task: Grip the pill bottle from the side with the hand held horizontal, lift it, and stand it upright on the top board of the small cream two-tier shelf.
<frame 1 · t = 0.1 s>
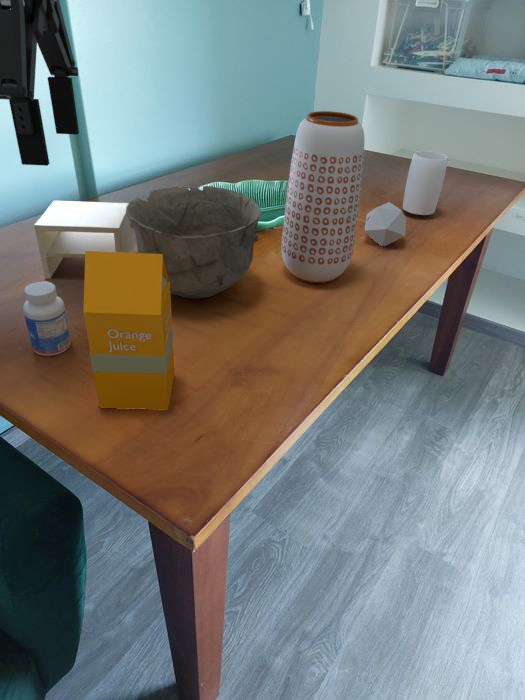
hand: (53, 147, 64), 28 cm above the table, tool pointing down, fingers open, 13 cm apart
die: (382, 242, 117), on the table
cup: (417, 214, 132), on the table
pill bottle: (52, 347, 78), on the table
orange juice: (138, 392, 71), on the table
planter: (313, 274, 102), on the table
bowl: (196, 288, 95), on the table
shelf: (92, 264, 100), on the table
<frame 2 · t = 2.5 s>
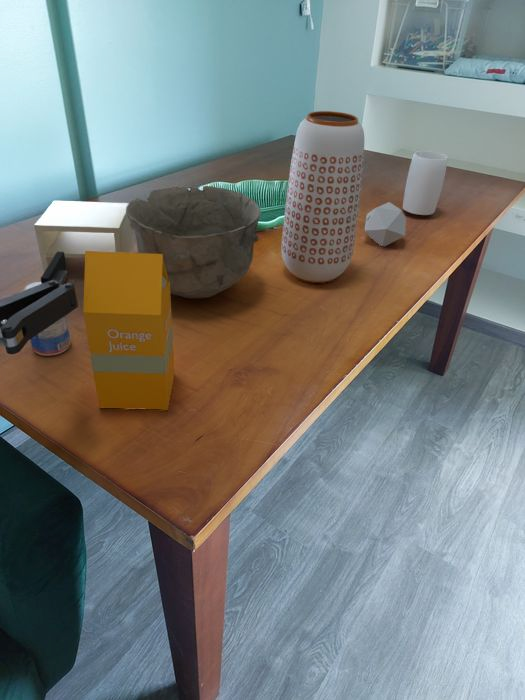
hand: (1, 261, 60), 18 cm above the table, tool horizontal, fingers open, 13 cm apart
nothing on the table moved.
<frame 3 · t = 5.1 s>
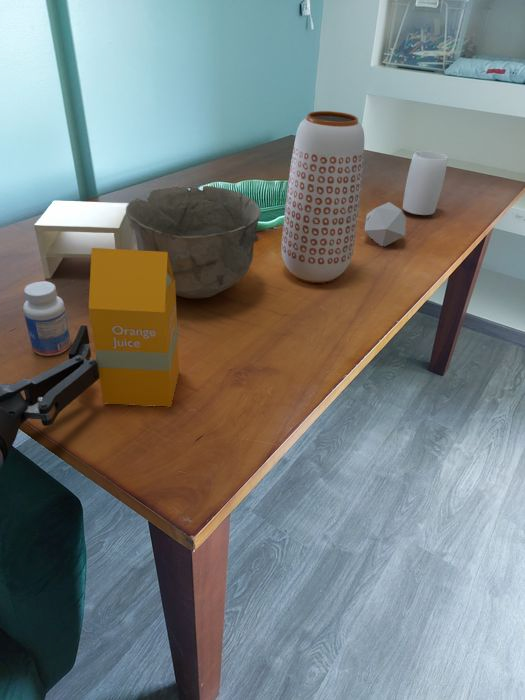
hand: (33, 332, 70), 6 cm above the table, tool horizontal, fingers open, 13 cm apart
orange juice: (143, 389, 72), on the table, touching gripper
everything else where it was.
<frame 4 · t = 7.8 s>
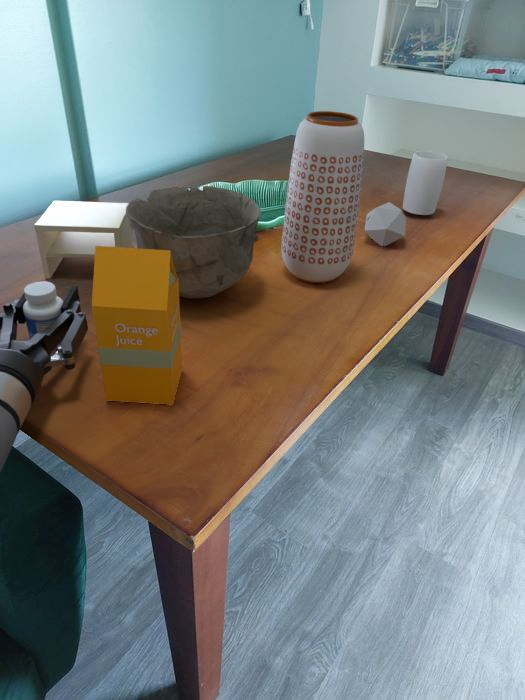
hand: (54, 293, 79), 6 cm above the table, tool horizontal, fingers closed on pill bottle, 5 cm apart
pill bottle: (52, 347, 78), on the table, touching gripper
orange juice: (146, 386, 72), on the table
everything else where it was.
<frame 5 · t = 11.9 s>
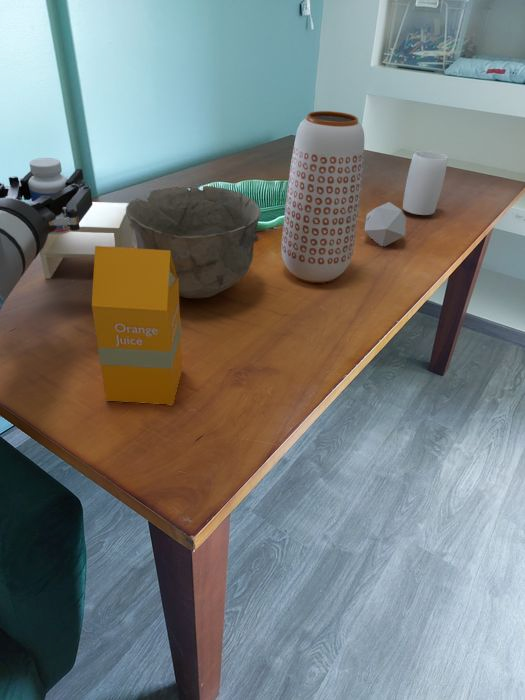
hand: (59, 177, 80), 20 cm above the table, tool horizontal, fingers closed on pill bottle, 5 cm apart
pill bottle: (57, 229, 79), point 14 cm above the table, touching gripper
everything else where it was.
when the fingers open (16 cm above the table, at t = 16.1 s): pill bottle stays where it is, resting on shelf.
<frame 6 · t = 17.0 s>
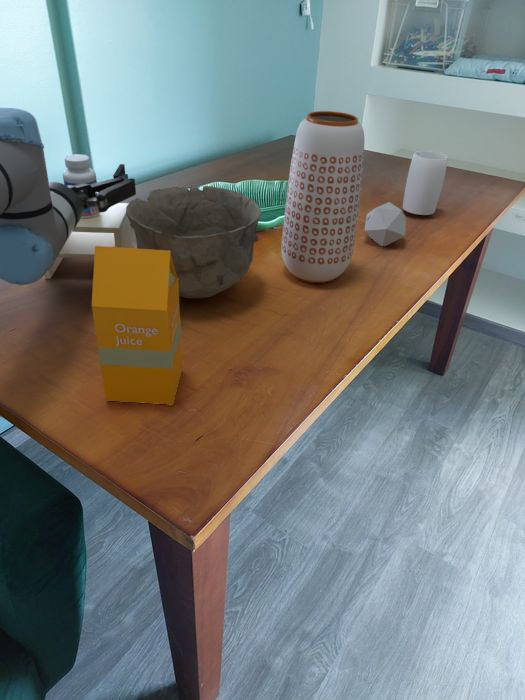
hand: (83, 170, 94), 17 cm above the table, tool horizontal, fingers open, 13 cm apart
pill bottle: (85, 214, 95), point 10 cm above the table, touching shelf
everything else where it was.
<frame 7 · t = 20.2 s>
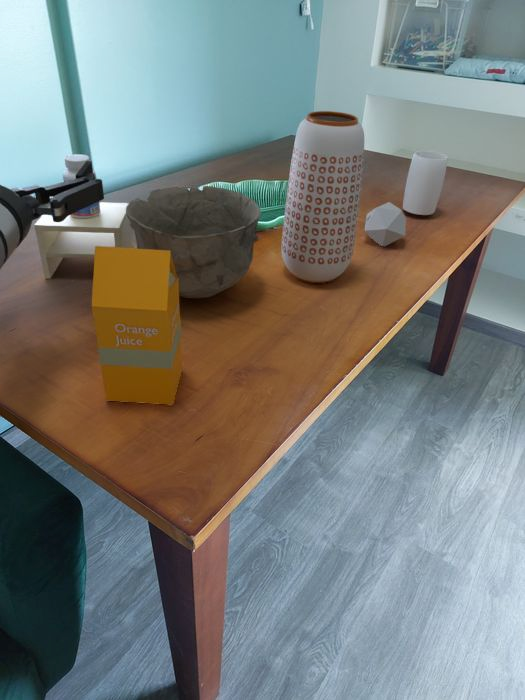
hand: (41, 168, 76), 22 cm above the table, tool horizontal, fingers open, 13 cm apart
nothing on the table moved.
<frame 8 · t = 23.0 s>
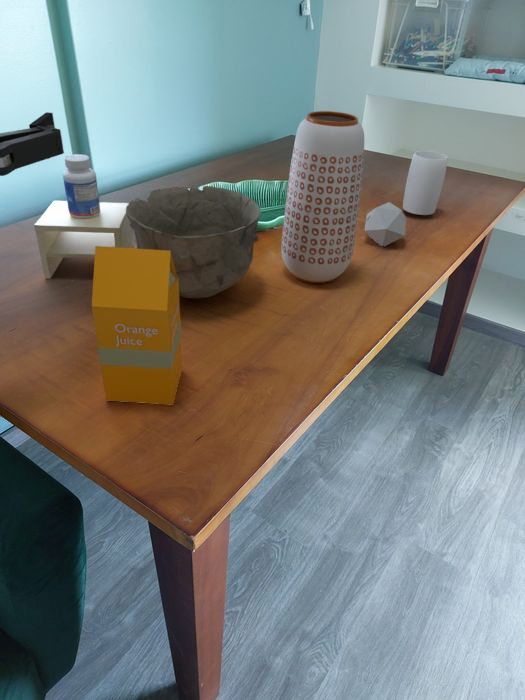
nothing on the table moved.
at the end: pill bottle inside the target area on the shelf (0.0 cm from its centre), point 9.8 cm above the shelf's base; pill bottle tilted 0°; the gripper is holding nothing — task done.
